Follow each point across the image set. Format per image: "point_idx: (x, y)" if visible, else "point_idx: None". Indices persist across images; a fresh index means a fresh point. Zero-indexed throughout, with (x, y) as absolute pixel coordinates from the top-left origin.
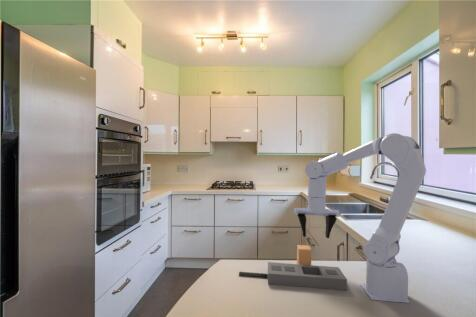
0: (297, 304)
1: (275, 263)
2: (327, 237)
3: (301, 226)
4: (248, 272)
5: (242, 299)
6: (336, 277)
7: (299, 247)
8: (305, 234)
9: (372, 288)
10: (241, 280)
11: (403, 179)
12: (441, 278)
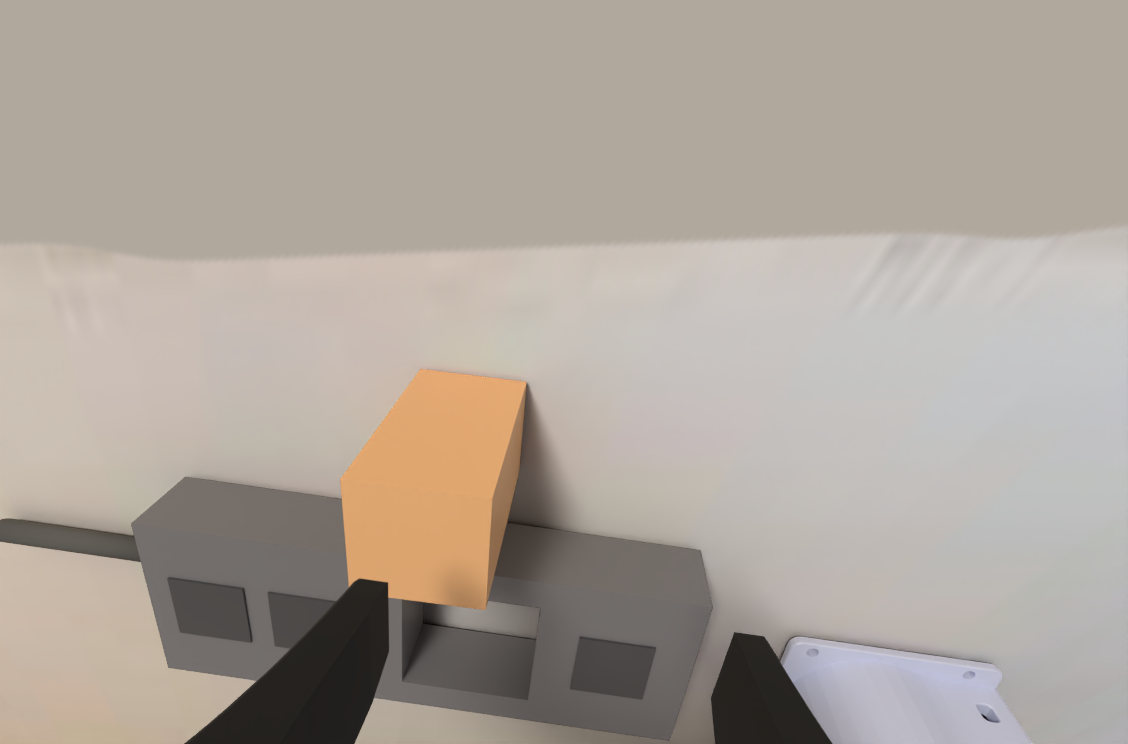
0: (367, 741)
1: (196, 544)
2: (718, 710)
3: (251, 699)
4: (50, 546)
5: (119, 704)
6: (611, 721)
7: (360, 551)
8: (369, 695)
9: None
10: (50, 567)
11: None
12: None
